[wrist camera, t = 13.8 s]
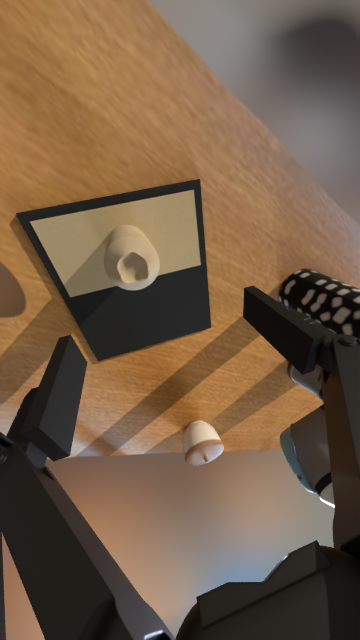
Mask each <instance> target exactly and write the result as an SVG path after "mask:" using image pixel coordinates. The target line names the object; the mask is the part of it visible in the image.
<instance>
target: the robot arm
mask: <svg viewBox="0 0 360 640" xmlns="http://www.w3.org/2000/svg"><path fill="white" fill-rule="evenodd" d="M243 317H244V318H245V319H246V320H247V321H248V322H249V323H250V324H251V325H252V326H253V327H254V328H255V329H256V330H257V331H258V332H259V333H260V334H261V335H262V336H263V337H264V338H265V339H266V340H267V341H268V342H269V343H270V344H271V345H272V346H273V347H274V348H275V349H276V350H277V351H278V352H279V353H280V354H281V355H282V356H283V357H284V358H286V359H287V360H288V361H289V362H290V365H289V367H288V375H289V377H290V378H291V379H292V380H293V381H294V382H295V383H297V384H299V385H301V386H303V387H304V388H306V389H307V390H309V391H311V392H312V393H314V394H316V395H317V396H318V397H319V398H320V399H321V400H322V401H323V402H324V404H323V405H322V406H320V407H319V408H317V409H316V410H314V411H313V412H311V413H309V414H308V415H306V416H305V417H303V418H302V419H300V420H299V421H297V422H295V423H294V424H291V425H290V427H289V428H287V429H286V430H285V431H283V432H282V433H281V435H280V444H281V447H282V450H283V452H284V455H285V457H286V459H287V461H288V463H289V465H290V467H291V468H292V470H293V472H294V473H295V474H296V475H297V478H298V479H299V481H300V483H301V484H302V485H303V486H304V488H305V489H306V490H307V491H309V492H311V493H317V494H318V496H319V497H320V499H321V500H322V501H323V502H325V503H327V504H329V505H331V506H333V507H335V514H334V519H333V542H334V548H332V547H327V546H320V545H319V543H318V542H317V540H316V541H314V542H312V543H310V544H308V545H306V546H303V547H302V548H299V549H297V550H295V551H293V552H291V553H289V554H288V555H287V556H286V557H285V558H284V559H283V560H282V561H280V562H279V563H278V564H277V566H276V567H275V568H274V569H273V570H272V571H271V573H270V574H269V575H268V576H267V577H266V578H265V580H264V581H263V582H228V583H226V584H223V585H221V586H219V587H217V588H215V589H213V590H211V591H209V592H207V593H204V594H202V595H200V596H198V597H197V603H196V604H195V605H194V606H193V607H192V609H191V610H190V612H189V613H188V614H187V616H186V617H185V619H184V622H183V623H182V625H181V627H180V629H179V632H178V634H177V636H176V639H175V638H174V636H173V635H172V634H171V632H170V631H169V630H168V628H167V627H166V625H165V624H164V623H163V621H162V620H161V619H160V617H159V616H158V615H157V613H156V612H155V611H154V610H153V609H152V608H151V607H150V606H149V605H148V604H147V603H146V602H145V601H144V600H143V599H142V598H141V596H140V595H139V594H138V592H137V591H136V590H135V588H134V587H133V586H132V584H131V583H130V581H129V580H128V578H127V577H126V576H125V574H124V573H123V572H122V570H121V569H120V567H119V566H118V564H117V563H116V562H115V560H114V559H113V558H112V556H111V555H110V553H109V552H108V550H107V549H106V548H105V546H104V545H103V543H102V542H101V541H100V539H99V538H98V537H97V535H96V534H95V532H94V531H93V530H92V528H91V527H90V525H89V524H88V523H87V521H86V520H85V518H84V517H83V516H82V514H81V513H80V512H79V510H78V509H77V507H76V506H75V504H74V503H73V502H72V500H71V499H70V498H69V496H68V495H67V493H66V492H65V490H64V489H63V488H62V486H61V485H60V484H59V482H58V481H57V479H56V478H55V477H54V475H53V474H52V472H51V471H50V470H49V468H48V467H47V466H45V463H46V459H47V456H48V457H49V458H50V459H51V460H53V461H56V460H58V459H62V458H65V457H67V456H70V452H71V446H72V441H73V436H74V430H75V425H76V420H77V414H78V409H79V404H80V398H81V393H82V388H83V382H84V377H85V372H86V366H87V361H86V360H85V358H84V356H83V355H82V353H81V351H80V350H79V348H78V346H77V345H76V343H75V341H74V340H73V338H72V336H71V335H68V336H64V337H61V338H59V339H58V342H57V344H56V347H55V349H54V351H53V354H52V356H51V359H50V361H49V363H48V366H47V368H46V371H45V373H44V375H43V378H42V380H41V383H40V385H39V387H36V388H33V389H31V390H30V392H29V393H28V394H27V395H26V396H25V397H24V399H23V402H22V404H21V406H20V408H19V410H18V412H17V416H16V417H15V419H14V421H13V423H12V425H11V427H10V429H9V432H8V434H7V436H5V435H4V434H2V433H1V432H0V640H6V632H5V606H4V580H3V556H2V533H3V536H4V538H5V540H6V543H7V546H8V548H9V550H10V553H11V556H12V558H13V560H14V563H15V565H16V568H17V570H18V573H19V575H20V578H21V580H22V583H23V585H24V588H25V590H26V593H27V595H28V598H29V600H30V603H31V605H32V607H33V610H34V613H35V615H36V618H37V620H38V623H39V625H40V628H41V630H42V633H43V635H44V638H45V640H360V339H358V338H357V337H354V336H352V335H347V334H338V335H337V334H335V333H334V332H332V331H331V330H329V329H328V328H326V327H324V326H323V325H321V324H320V323H318V322H316V321H315V320H314V319H312V318H310V317H309V316H307V315H306V314H304V313H301V312H299V311H296V310H294V311H290V310H289V309H287V308H286V307H284V306H283V305H281V304H280V303H278V302H277V301H275V300H274V299H272V298H271V297H269V296H268V295H267V294H265V293H264V292H262V291H261V290H259V289H258V288H256V287H255V286H250V287H246V288H244V310H243Z"/></svg>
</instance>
